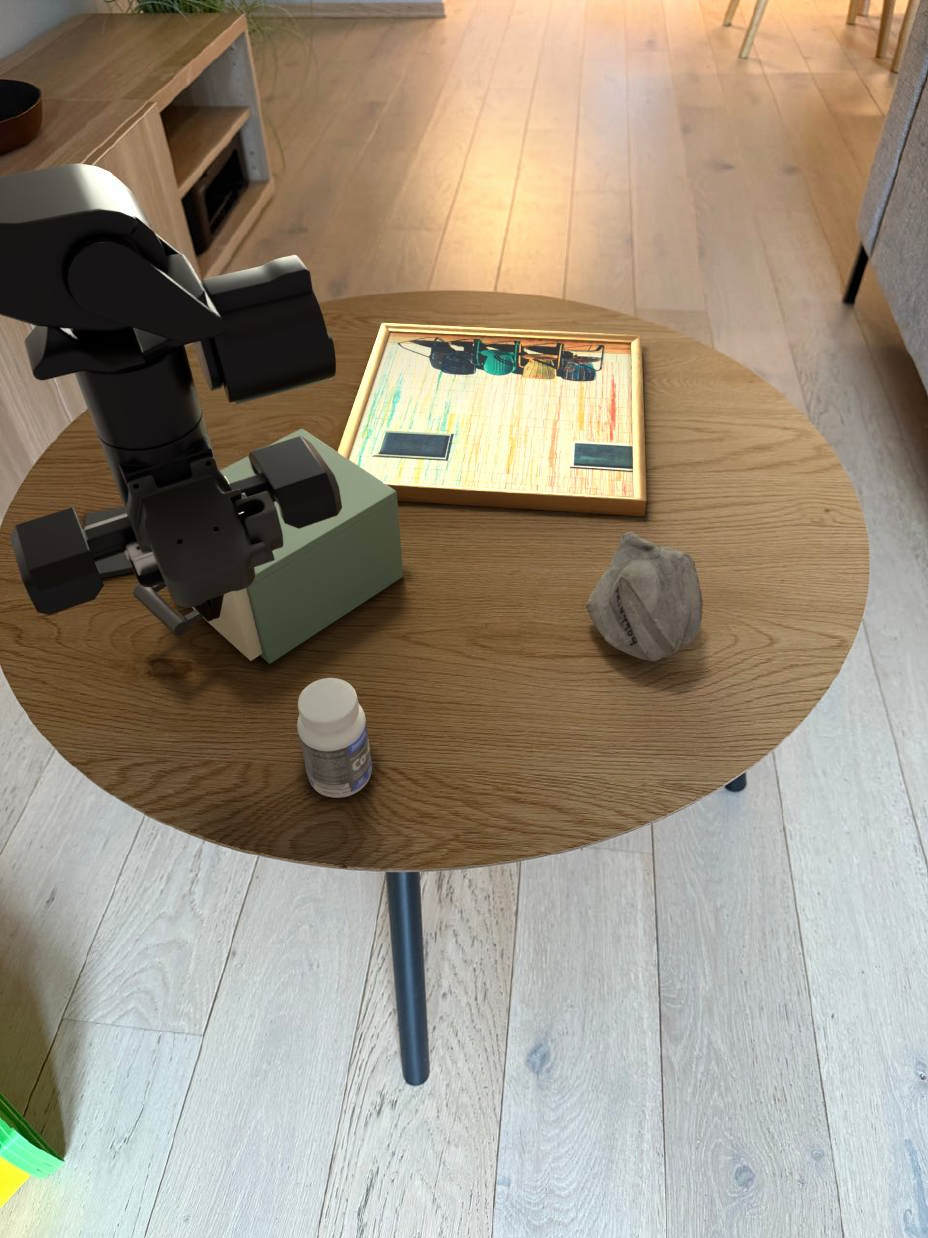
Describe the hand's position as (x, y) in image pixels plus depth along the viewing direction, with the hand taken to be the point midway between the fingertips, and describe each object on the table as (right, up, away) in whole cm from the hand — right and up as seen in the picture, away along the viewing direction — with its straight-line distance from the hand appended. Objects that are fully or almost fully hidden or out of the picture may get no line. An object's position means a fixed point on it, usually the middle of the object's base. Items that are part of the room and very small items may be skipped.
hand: (211, 615), depth 63 cm
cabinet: (+2, +3, +20) cm, 20 cm away
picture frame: (+21, +21, +38) cm, 48 cm away
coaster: (-13, +7, +24) cm, 29 cm away
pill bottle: (+8, -12, +6) cm, 15 cm away
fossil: (+32, -1, +16) cm, 36 cm away
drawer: (-1, +2, +18) cm, 18 cm away
